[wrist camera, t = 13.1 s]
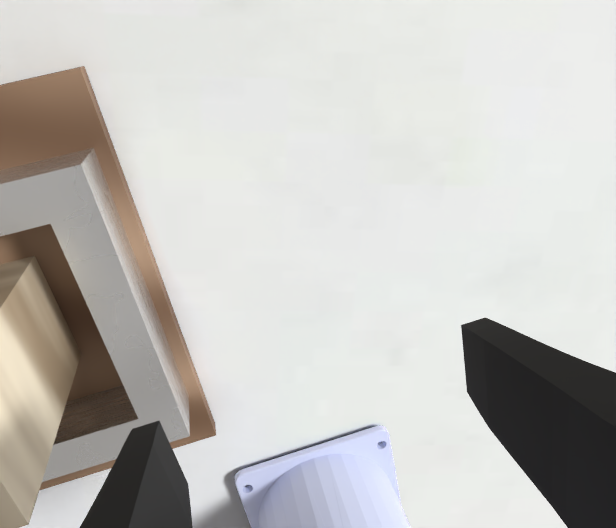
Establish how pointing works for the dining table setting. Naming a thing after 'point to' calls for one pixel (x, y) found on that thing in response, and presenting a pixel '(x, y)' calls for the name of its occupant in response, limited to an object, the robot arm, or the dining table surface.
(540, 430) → the robot arm
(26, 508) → the peg
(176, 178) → the dining table surface
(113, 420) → the collar board
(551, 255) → the dining table surface
